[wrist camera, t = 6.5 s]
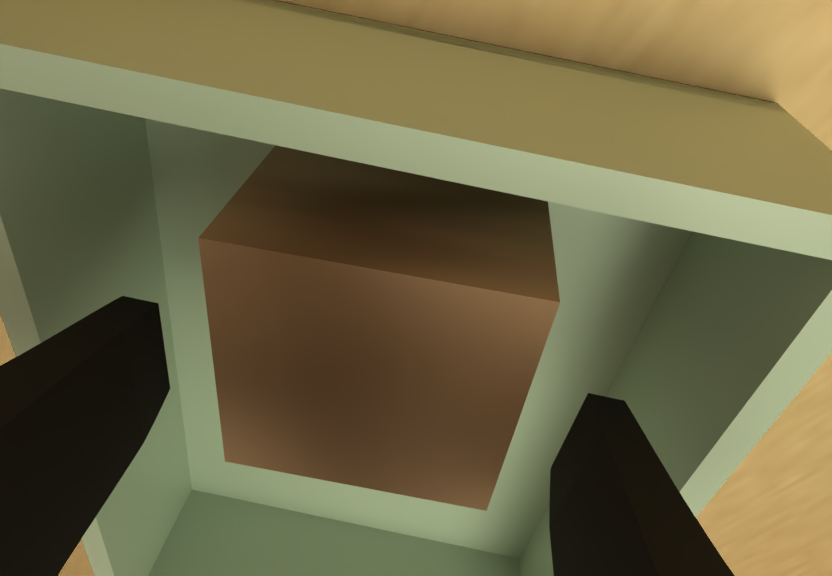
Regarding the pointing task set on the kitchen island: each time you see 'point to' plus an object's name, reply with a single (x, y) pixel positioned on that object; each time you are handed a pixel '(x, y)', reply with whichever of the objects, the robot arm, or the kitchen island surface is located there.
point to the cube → (376, 324)
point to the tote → (428, 156)
